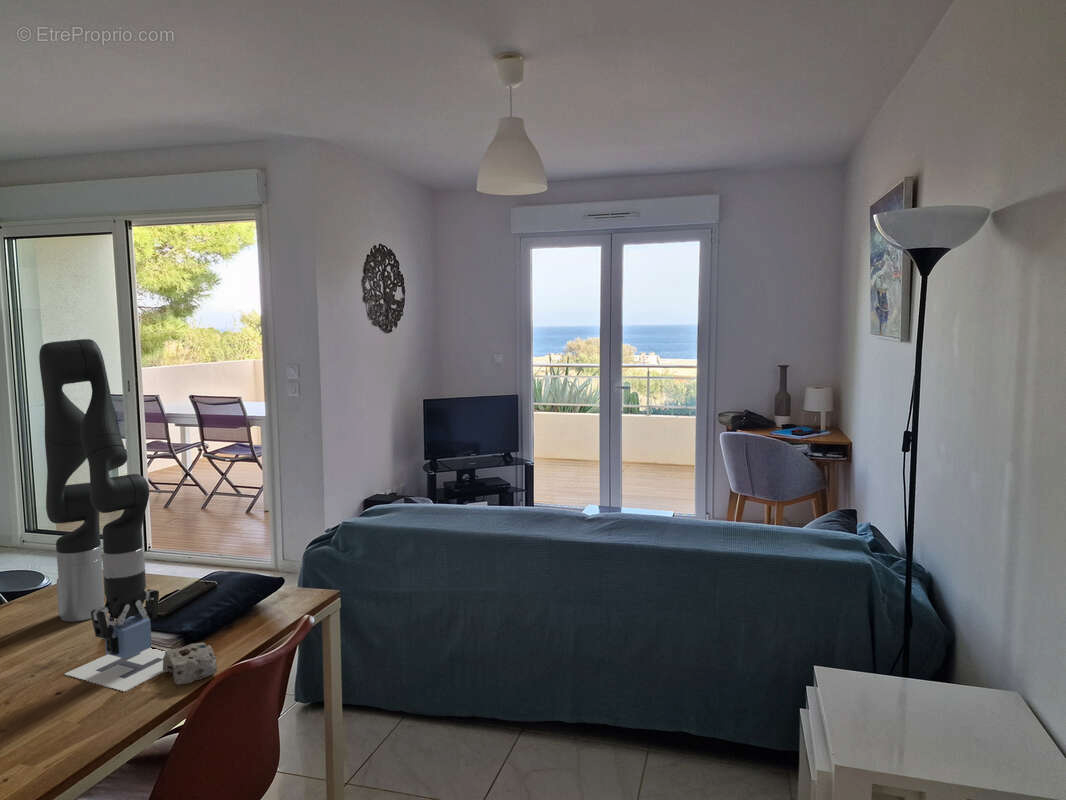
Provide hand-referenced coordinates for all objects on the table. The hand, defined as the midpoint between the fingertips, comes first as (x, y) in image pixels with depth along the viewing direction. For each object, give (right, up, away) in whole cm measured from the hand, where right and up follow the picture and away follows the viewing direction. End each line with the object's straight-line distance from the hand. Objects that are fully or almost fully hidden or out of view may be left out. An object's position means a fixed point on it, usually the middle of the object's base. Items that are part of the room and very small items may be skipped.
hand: (128, 647), depth 146 cm
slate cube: (0, -1, 0) cm, 1 cm away
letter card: (0, -4, +1) cm, 4 cm away
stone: (+14, -5, -3) cm, 15 cm away
